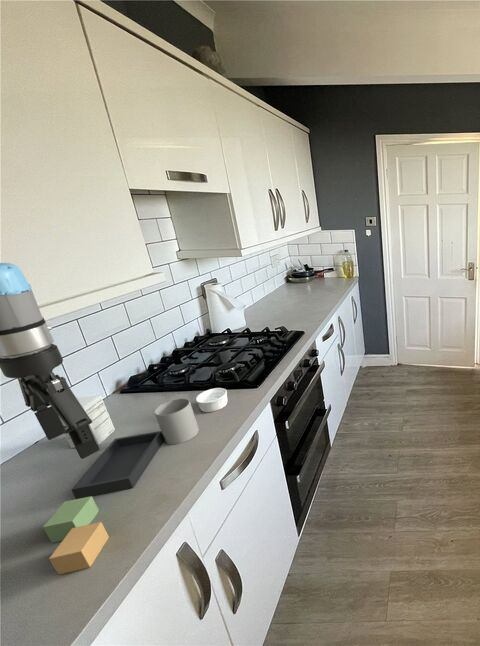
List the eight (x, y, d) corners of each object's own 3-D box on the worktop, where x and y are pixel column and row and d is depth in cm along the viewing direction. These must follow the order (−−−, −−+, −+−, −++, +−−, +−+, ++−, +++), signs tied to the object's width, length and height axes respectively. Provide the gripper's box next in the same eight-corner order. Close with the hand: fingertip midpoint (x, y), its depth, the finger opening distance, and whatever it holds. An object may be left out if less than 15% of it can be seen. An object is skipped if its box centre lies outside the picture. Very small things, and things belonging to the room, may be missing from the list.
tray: (76, 499, 82) (70, 489, 81) (118, 447, 99) (114, 438, 98) (133, 488, 85) (129, 478, 84) (165, 439, 102) (162, 430, 101)
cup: (195, 422, 109) (187, 395, 105) (201, 434, 103) (192, 406, 100) (163, 434, 104) (152, 406, 100) (167, 448, 98) (156, 419, 94)
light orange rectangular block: (58, 575, 66) (48, 558, 64) (80, 543, 72) (71, 528, 70) (90, 567, 67) (81, 551, 65) (109, 537, 73) (101, 521, 71)
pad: (51, 542, 72) (42, 527, 70) (72, 516, 78) (64, 501, 76) (81, 536, 73) (72, 520, 72) (99, 510, 79) (91, 496, 77)
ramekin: (235, 399, 120) (232, 389, 119) (215, 415, 112) (211, 403, 111) (214, 397, 122) (211, 386, 121) (192, 412, 114) (189, 400, 113)
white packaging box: (70, 449, 99) (51, 411, 94) (89, 432, 106) (73, 396, 101) (99, 445, 100) (82, 408, 95) (116, 429, 107) (101, 394, 102)
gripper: (87, 352, 61) (128, 449, 68) (25, 332, 71) (67, 419, 78) (27, 372, 54) (80, 476, 62) (-32, 347, 64) (20, 439, 72)
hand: (73, 444), depth 70 cm, fingers open, 13 cm apart
